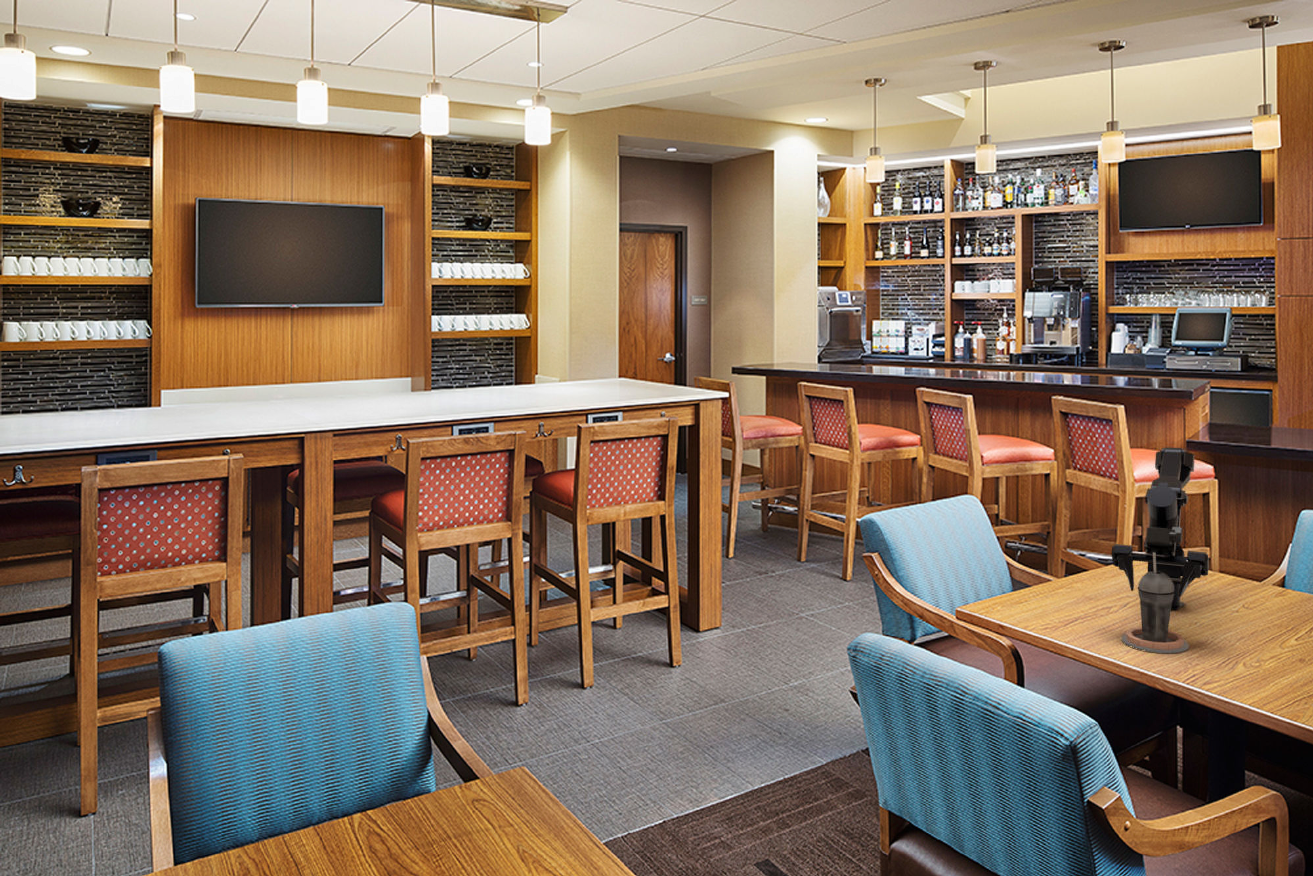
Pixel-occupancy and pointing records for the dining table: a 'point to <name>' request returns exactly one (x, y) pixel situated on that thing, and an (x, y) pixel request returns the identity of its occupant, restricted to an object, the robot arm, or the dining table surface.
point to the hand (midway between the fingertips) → (1155, 592)
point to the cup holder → (1172, 645)
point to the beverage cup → (1155, 604)
